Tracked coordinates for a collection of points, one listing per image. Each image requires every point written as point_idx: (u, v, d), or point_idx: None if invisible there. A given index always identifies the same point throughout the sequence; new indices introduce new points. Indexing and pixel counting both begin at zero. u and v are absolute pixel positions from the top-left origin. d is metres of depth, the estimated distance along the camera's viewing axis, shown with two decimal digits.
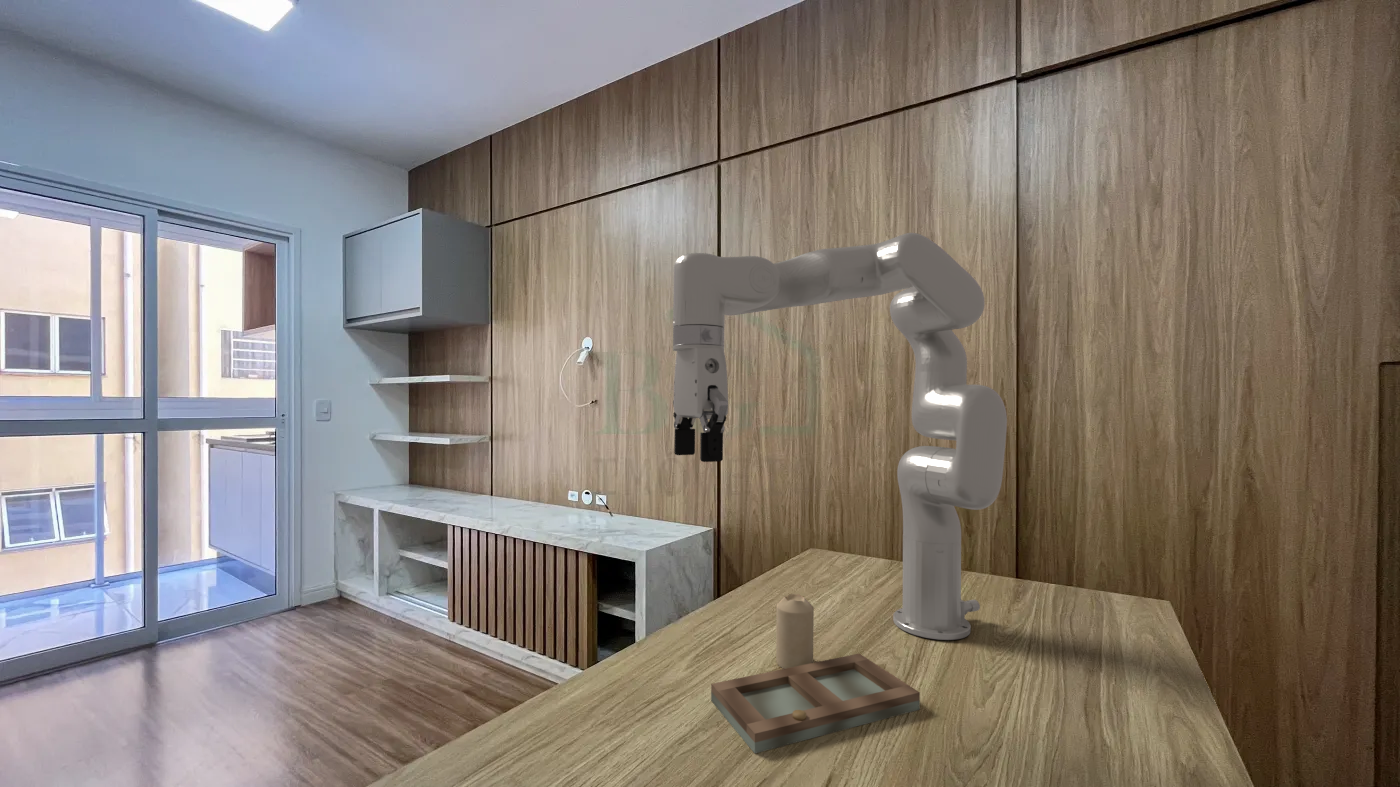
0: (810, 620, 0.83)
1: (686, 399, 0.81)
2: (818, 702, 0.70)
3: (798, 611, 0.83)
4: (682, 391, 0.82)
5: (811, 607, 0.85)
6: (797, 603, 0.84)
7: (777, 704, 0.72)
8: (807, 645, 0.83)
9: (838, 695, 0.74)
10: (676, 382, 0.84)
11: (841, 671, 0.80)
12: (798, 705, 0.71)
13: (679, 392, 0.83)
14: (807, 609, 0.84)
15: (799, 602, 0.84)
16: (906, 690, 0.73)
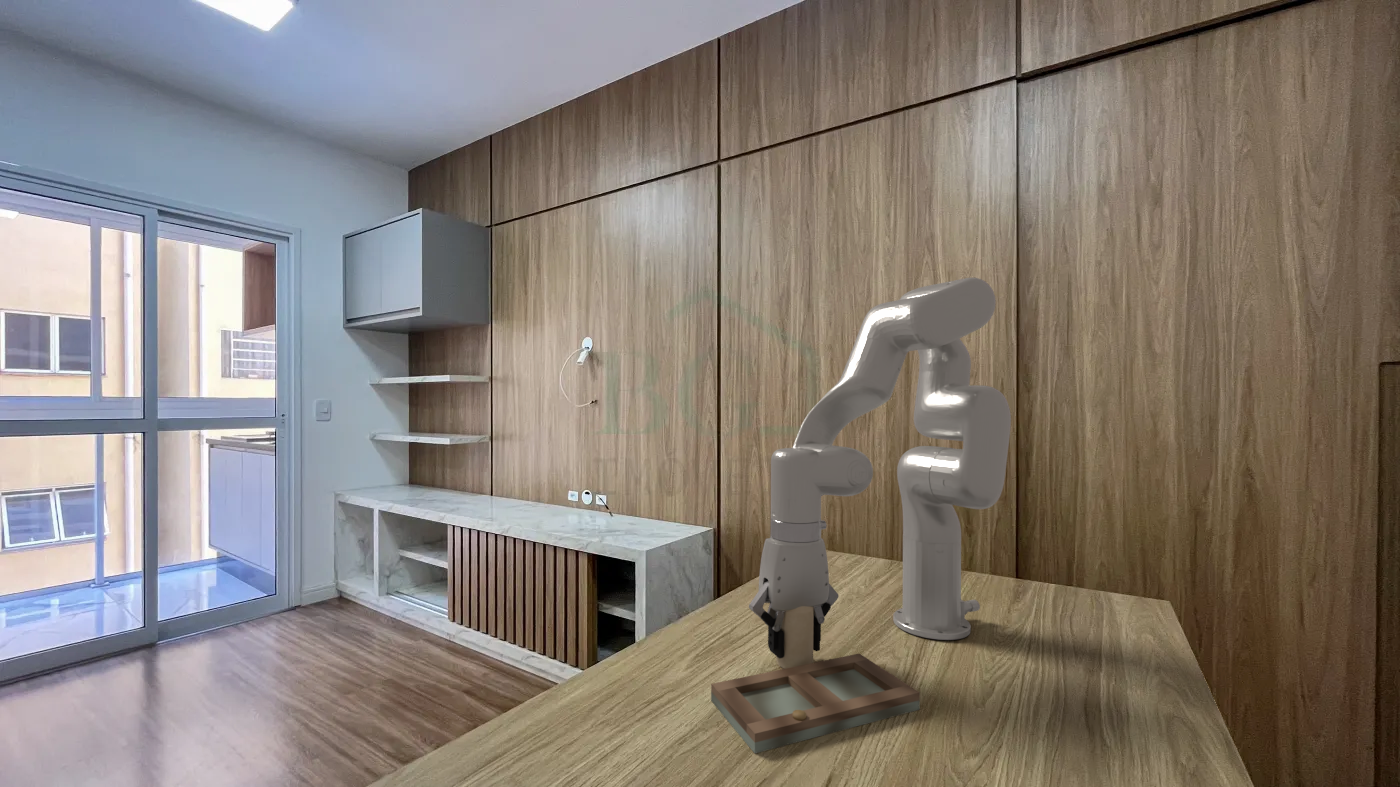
0: (809, 620, 0.83)
1: (810, 591, 0.84)
2: (818, 702, 0.70)
3: (798, 611, 0.83)
4: (803, 585, 0.83)
5: (811, 607, 0.85)
6: None
7: (777, 704, 0.72)
8: (807, 645, 0.83)
9: (838, 695, 0.74)
10: (787, 577, 0.82)
11: (841, 671, 0.80)
12: (798, 705, 0.71)
13: (795, 587, 0.83)
14: (807, 609, 0.83)
15: None
16: (906, 690, 0.73)
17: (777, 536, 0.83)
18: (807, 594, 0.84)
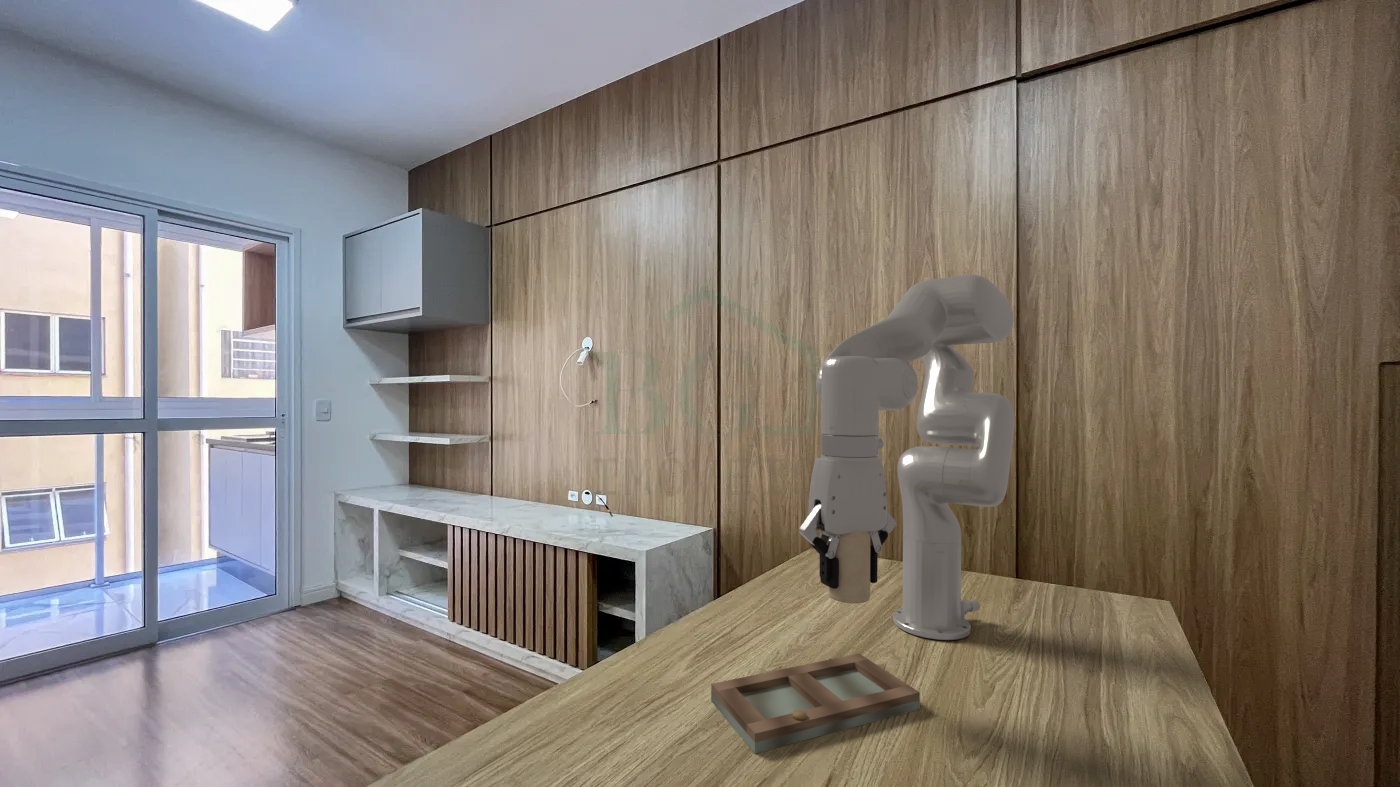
0: (867, 547, 0.74)
1: (867, 514, 0.75)
2: (818, 702, 0.70)
3: (854, 536, 0.74)
4: (860, 506, 0.74)
5: None
6: None
7: (777, 704, 0.72)
8: (864, 575, 0.74)
9: (838, 695, 0.74)
10: (843, 497, 0.73)
11: (841, 671, 0.80)
12: (798, 705, 0.71)
13: (850, 509, 0.73)
14: (864, 534, 0.74)
15: None
16: (906, 690, 0.73)
17: (830, 452, 0.74)
18: (864, 517, 0.74)
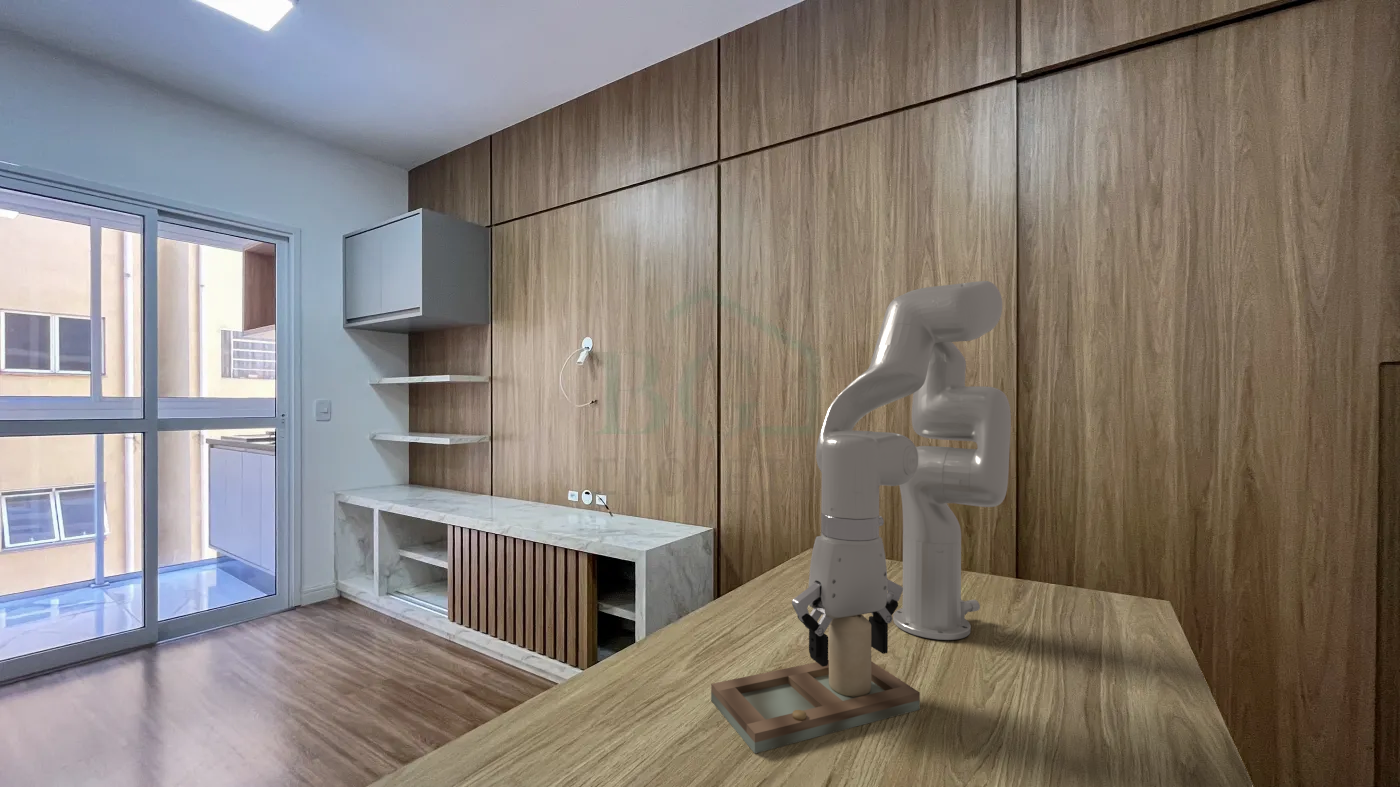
0: (868, 639, 0.74)
1: (867, 596, 0.74)
2: (818, 702, 0.70)
3: (855, 629, 0.74)
4: (860, 588, 0.74)
5: (869, 623, 0.75)
6: (853, 619, 0.74)
7: (777, 704, 0.72)
8: (865, 667, 0.74)
9: (838, 695, 0.74)
10: (843, 580, 0.73)
11: None
12: (798, 705, 0.71)
13: (851, 591, 0.73)
14: (865, 626, 0.74)
15: (855, 618, 0.75)
16: (906, 690, 0.73)
17: (831, 534, 0.74)
18: (864, 599, 0.74)
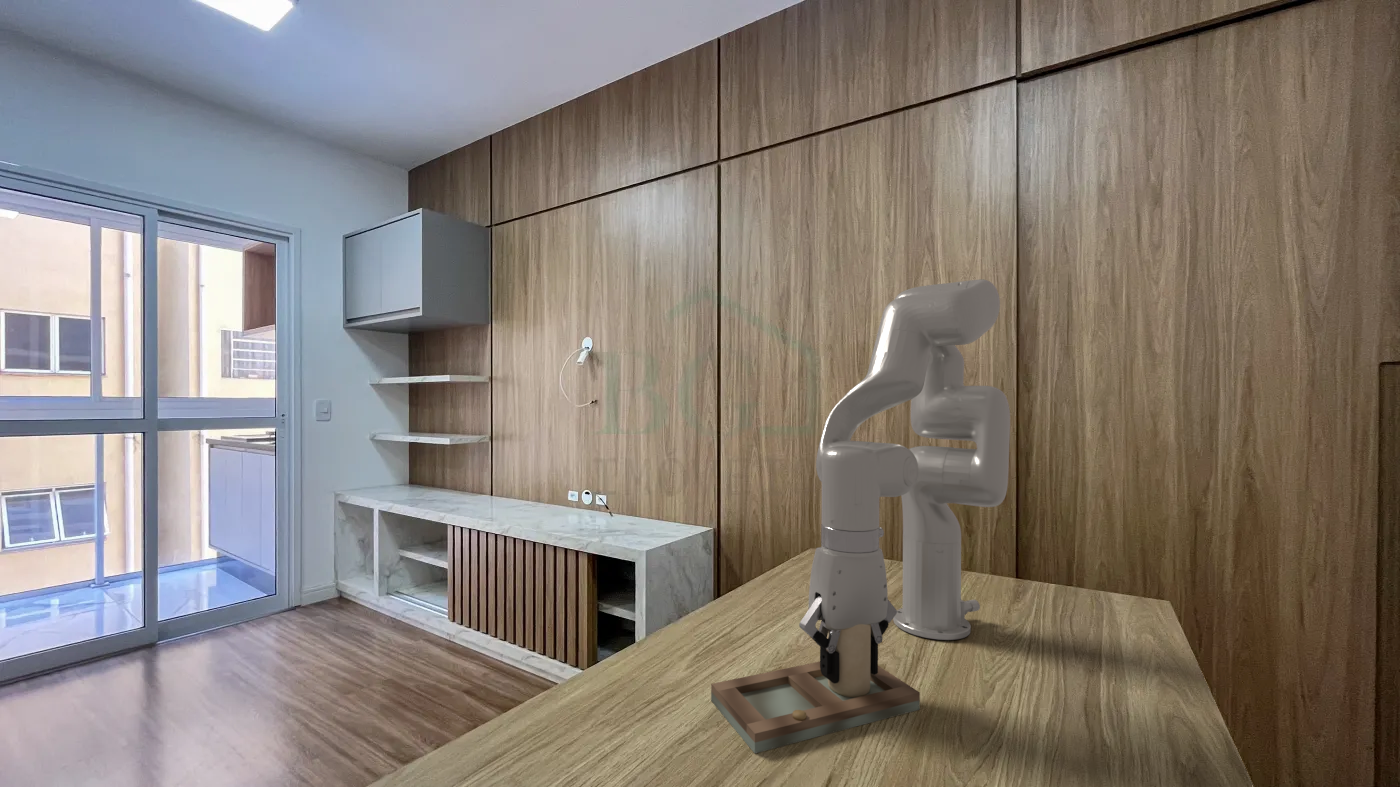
0: (867, 640, 0.74)
1: (868, 607, 0.74)
2: (818, 702, 0.70)
3: (854, 629, 0.73)
4: (860, 600, 0.74)
5: None
6: None
7: (777, 704, 0.72)
8: (864, 668, 0.74)
9: (838, 695, 0.74)
10: (843, 592, 0.73)
11: None
12: (798, 705, 0.71)
13: (851, 603, 0.73)
14: (864, 627, 0.74)
15: None
16: (906, 690, 0.73)
17: (831, 545, 0.74)
18: (865, 611, 0.74)
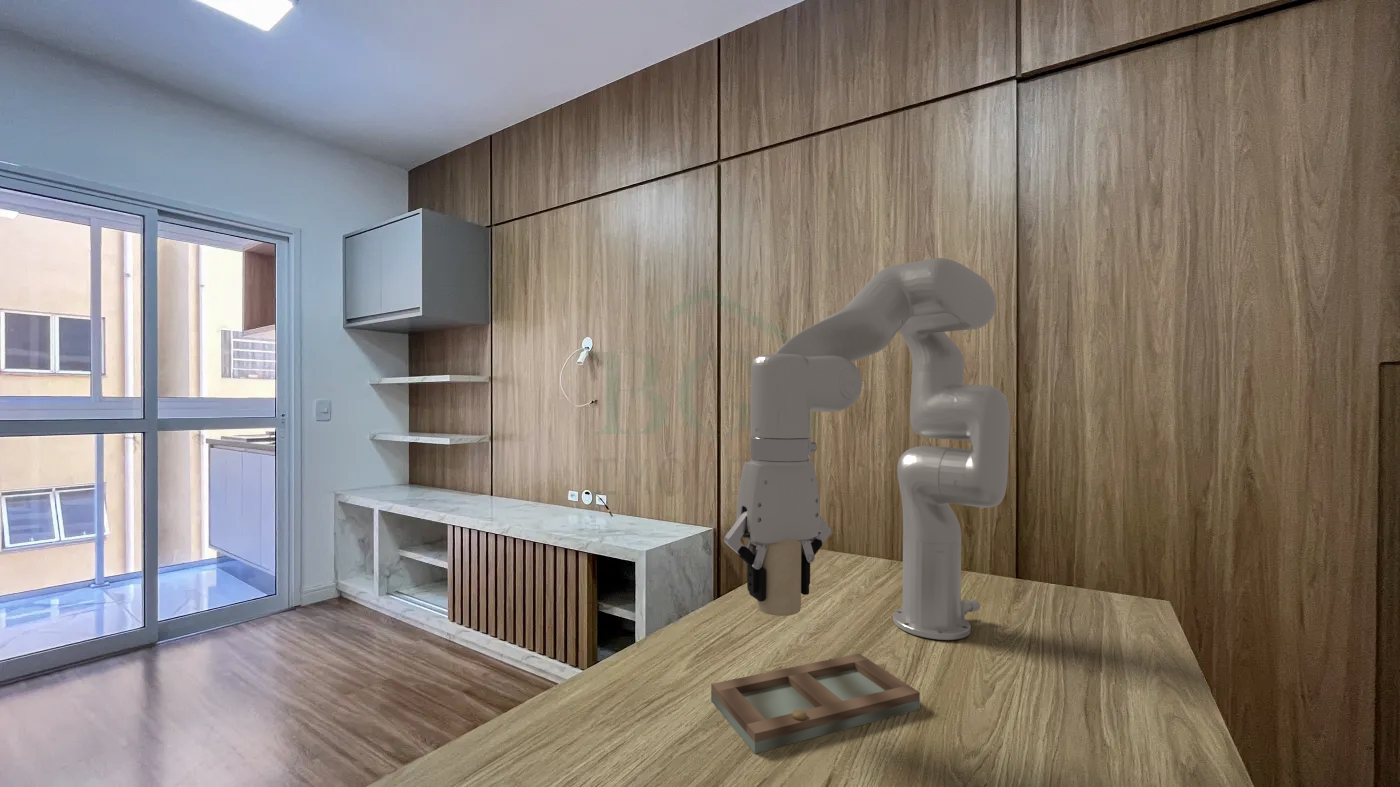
0: (796, 556, 0.70)
1: (797, 522, 0.70)
2: (818, 702, 0.70)
3: (782, 544, 0.69)
4: (789, 514, 0.70)
5: None
6: None
7: (777, 704, 0.72)
8: (793, 585, 0.69)
9: (838, 695, 0.74)
10: (769, 504, 0.69)
11: (841, 671, 0.80)
12: (798, 705, 0.71)
13: (778, 516, 0.69)
14: (793, 542, 0.70)
15: None
16: (906, 690, 0.73)
17: (757, 456, 0.70)
18: (793, 525, 0.70)
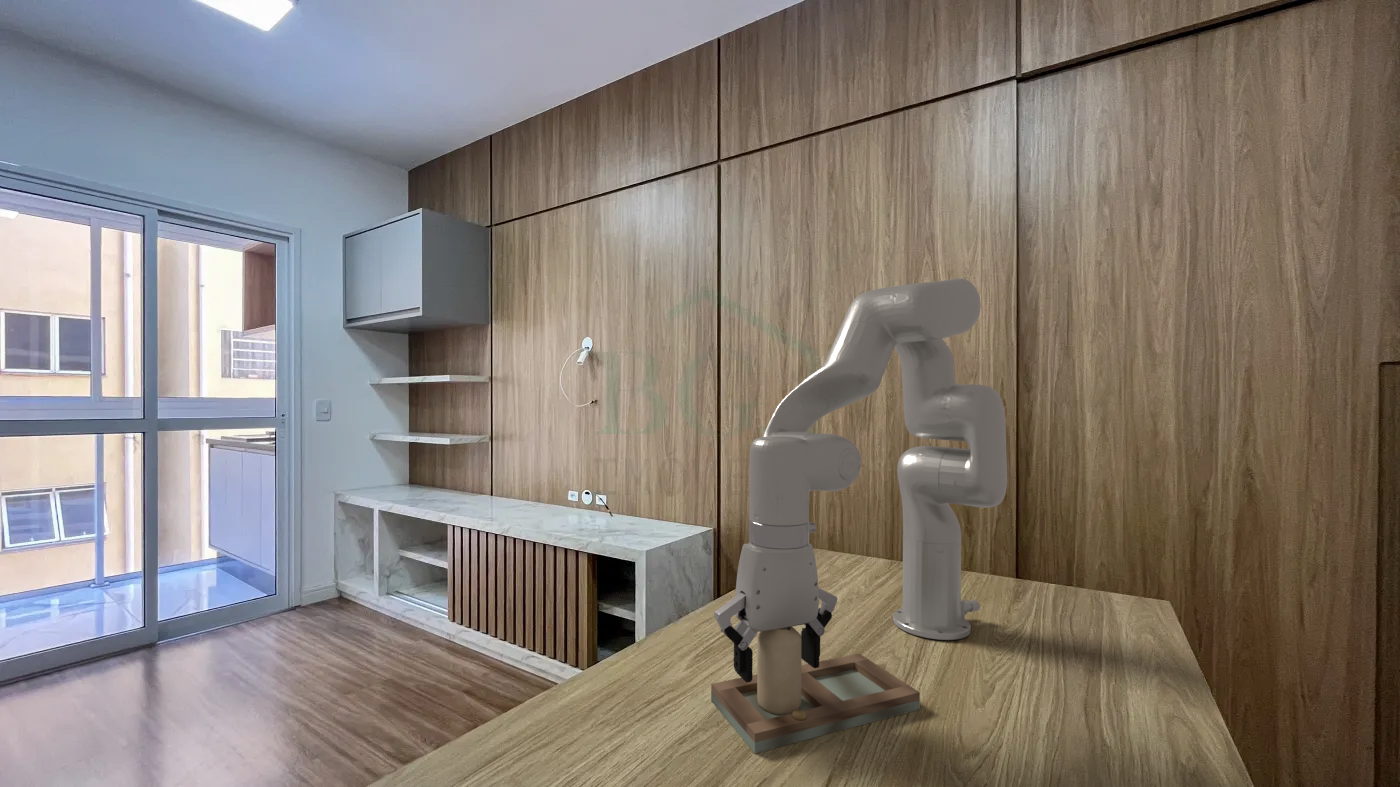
0: (796, 653, 0.70)
1: (796, 607, 0.70)
2: (818, 702, 0.70)
3: (782, 643, 0.69)
4: (787, 599, 0.69)
5: (799, 636, 0.71)
6: (781, 632, 0.70)
7: None
8: (793, 683, 0.69)
9: (838, 695, 0.74)
10: (768, 591, 0.69)
11: (841, 671, 0.80)
12: None
13: (777, 602, 0.69)
14: (793, 640, 0.70)
15: (784, 631, 0.70)
16: (906, 690, 0.73)
17: (756, 541, 0.70)
18: (792, 611, 0.70)
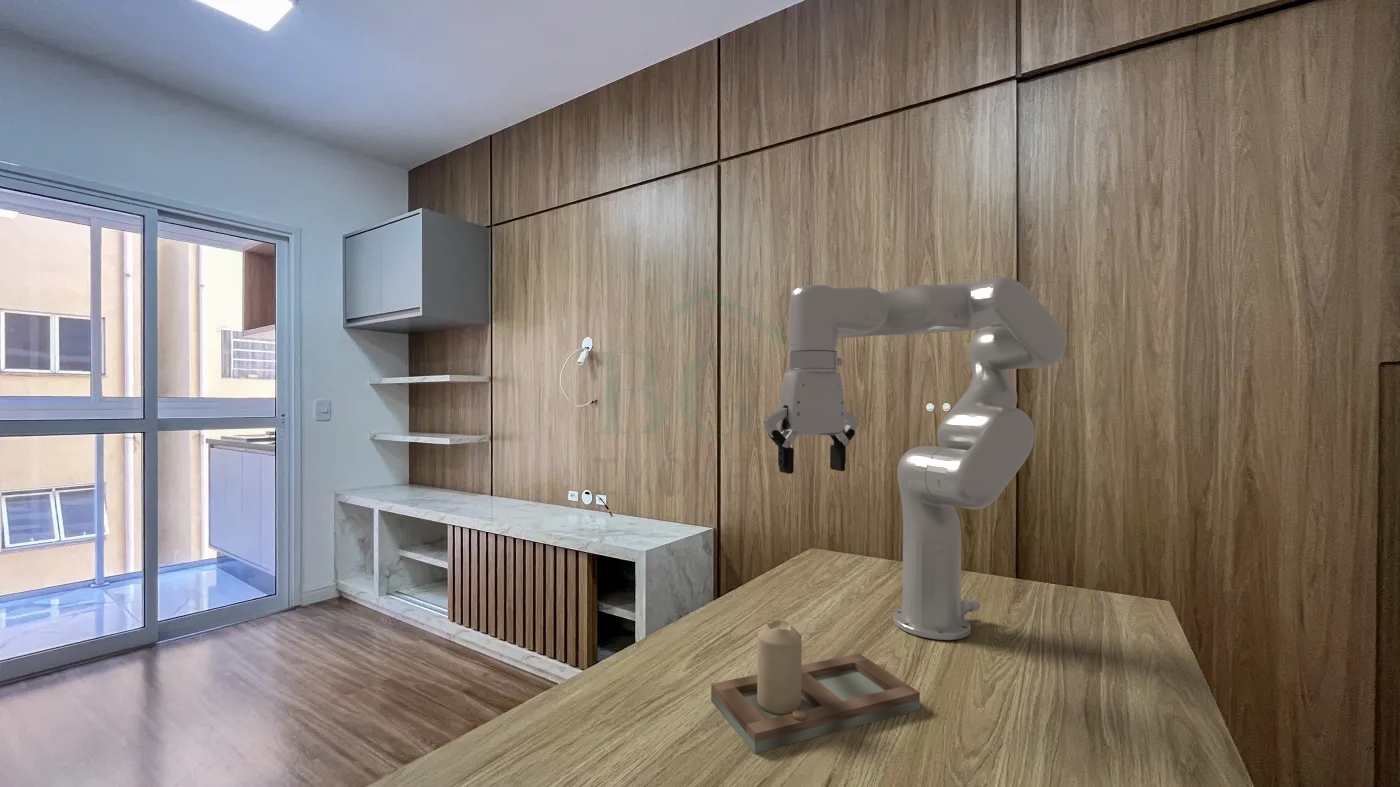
0: (796, 653, 0.70)
1: (827, 418, 0.89)
2: (818, 702, 0.70)
3: (782, 643, 0.69)
4: (821, 411, 0.88)
5: (799, 636, 0.71)
6: (781, 632, 0.70)
7: None
8: (793, 683, 0.69)
9: (838, 695, 0.74)
10: (806, 402, 0.87)
11: (841, 671, 0.80)
12: None
13: (813, 412, 0.88)
14: (793, 640, 0.70)
15: (784, 631, 0.70)
16: (906, 690, 0.73)
17: (796, 365, 0.88)
18: (824, 420, 0.89)
